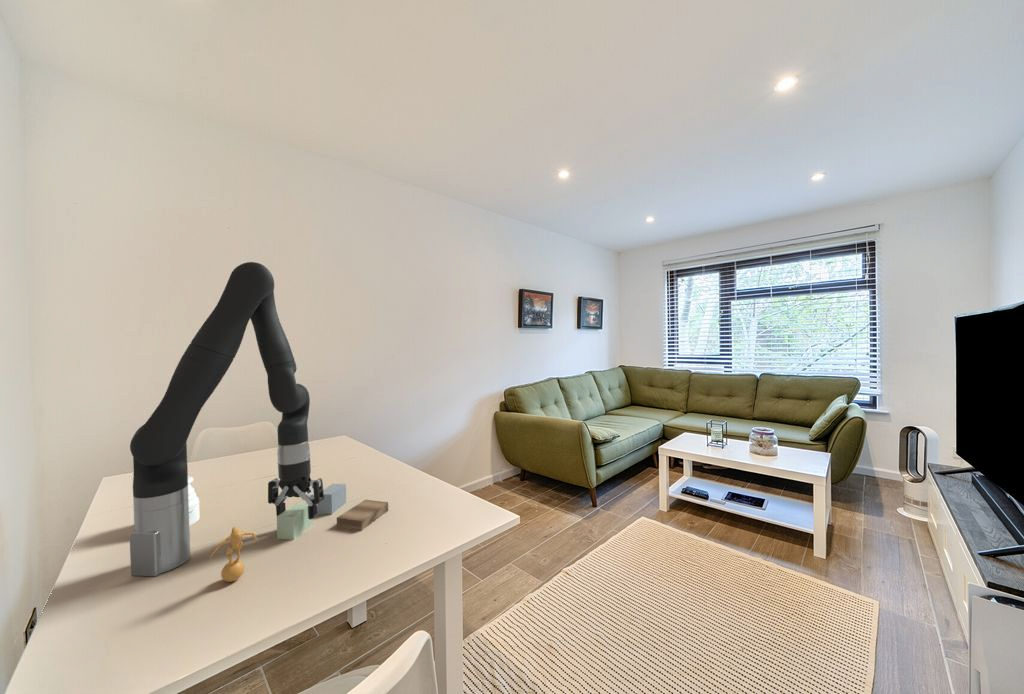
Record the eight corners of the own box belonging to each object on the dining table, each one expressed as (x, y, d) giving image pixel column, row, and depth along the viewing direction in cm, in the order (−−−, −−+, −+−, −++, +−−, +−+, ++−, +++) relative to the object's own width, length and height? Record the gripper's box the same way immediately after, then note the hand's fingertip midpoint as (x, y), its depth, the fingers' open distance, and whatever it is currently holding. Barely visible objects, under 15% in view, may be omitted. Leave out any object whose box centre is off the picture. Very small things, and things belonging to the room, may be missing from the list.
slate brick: (331, 514, 110) (331, 494, 110) (317, 514, 111) (316, 494, 111) (346, 502, 118) (345, 484, 118) (332, 502, 119) (332, 483, 119)
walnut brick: (361, 532, 101) (361, 521, 101) (337, 528, 103) (336, 517, 103) (388, 512, 112) (388, 502, 112) (365, 509, 114) (365, 499, 114)
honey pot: (208, 510, 114) (206, 452, 114) (186, 531, 102) (183, 465, 102) (155, 517, 111) (153, 456, 110) (126, 539, 98) (123, 471, 98)
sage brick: (293, 539, 97) (293, 516, 97) (277, 539, 97) (276, 516, 97) (312, 524, 105) (312, 503, 105) (297, 524, 105) (297, 502, 105)
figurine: (251, 567, 85) (250, 514, 85) (262, 576, 81) (261, 521, 81) (206, 586, 78) (204, 530, 78) (215, 598, 75) (213, 538, 75)
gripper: (258, 463, 98) (261, 524, 98) (311, 463, 97) (314, 525, 97) (278, 454, 105) (281, 511, 106) (327, 454, 104) (330, 511, 105)
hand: (297, 518), depth 102 cm, fingers open, 8 cm apart
